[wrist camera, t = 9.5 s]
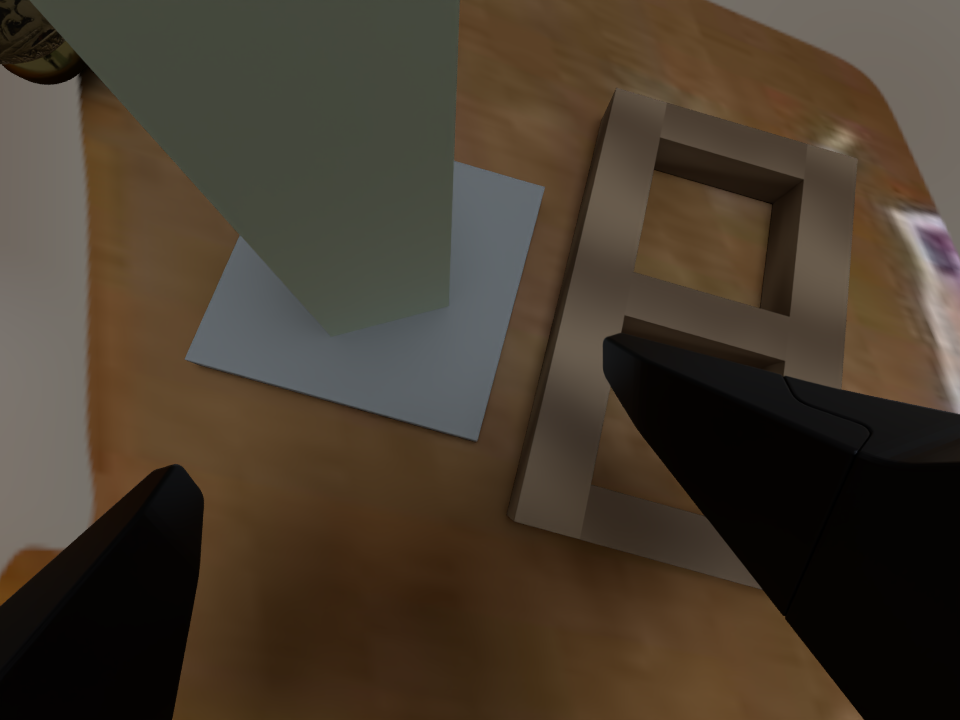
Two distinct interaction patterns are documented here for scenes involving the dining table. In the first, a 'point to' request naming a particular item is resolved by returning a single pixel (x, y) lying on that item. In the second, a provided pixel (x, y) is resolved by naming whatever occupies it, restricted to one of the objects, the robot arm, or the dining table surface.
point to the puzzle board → (680, 312)
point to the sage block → (300, 132)
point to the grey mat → (392, 345)
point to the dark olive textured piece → (34, 45)
